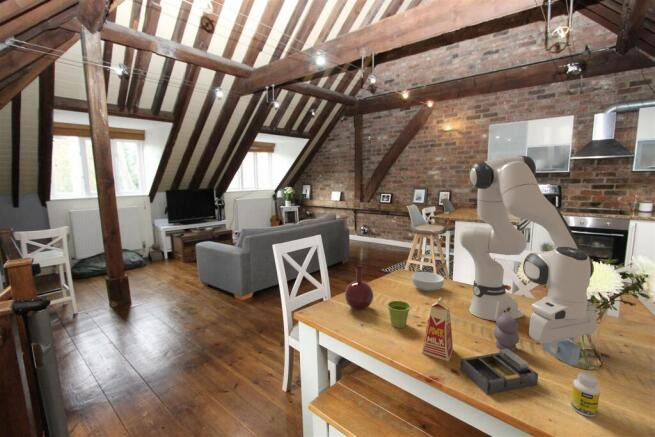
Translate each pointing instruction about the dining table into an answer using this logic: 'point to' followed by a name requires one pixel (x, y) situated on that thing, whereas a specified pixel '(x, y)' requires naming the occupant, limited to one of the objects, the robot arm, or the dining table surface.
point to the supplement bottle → (585, 394)
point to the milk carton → (438, 332)
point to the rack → (499, 371)
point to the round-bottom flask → (359, 292)
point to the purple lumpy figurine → (506, 333)
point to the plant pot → (398, 313)
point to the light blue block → (566, 351)
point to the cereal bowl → (427, 281)
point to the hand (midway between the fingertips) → (560, 350)
